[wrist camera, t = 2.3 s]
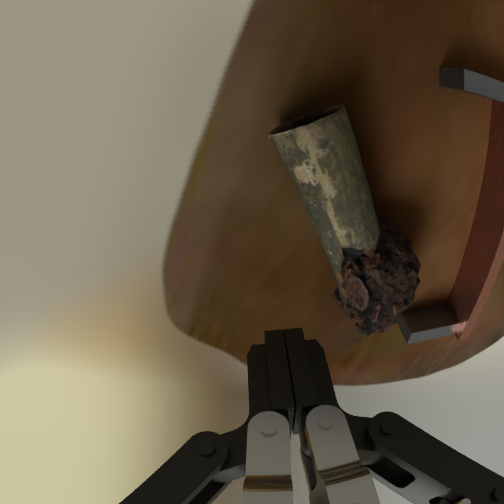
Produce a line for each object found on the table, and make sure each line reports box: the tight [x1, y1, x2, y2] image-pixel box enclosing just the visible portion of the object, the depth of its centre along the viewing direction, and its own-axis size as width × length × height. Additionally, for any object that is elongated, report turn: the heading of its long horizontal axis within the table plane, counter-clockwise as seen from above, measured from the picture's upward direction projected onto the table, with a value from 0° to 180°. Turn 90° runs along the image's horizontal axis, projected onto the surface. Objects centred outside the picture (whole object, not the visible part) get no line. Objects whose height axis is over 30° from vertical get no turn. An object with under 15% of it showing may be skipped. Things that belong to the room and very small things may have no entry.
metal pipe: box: [268, 105, 421, 337], centre depth 20 cm, size 18×7×6 cm, turn 24°
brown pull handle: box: [397, 67, 504, 344], centre depth 20 cm, size 8×24×4 cm, turn 3°
